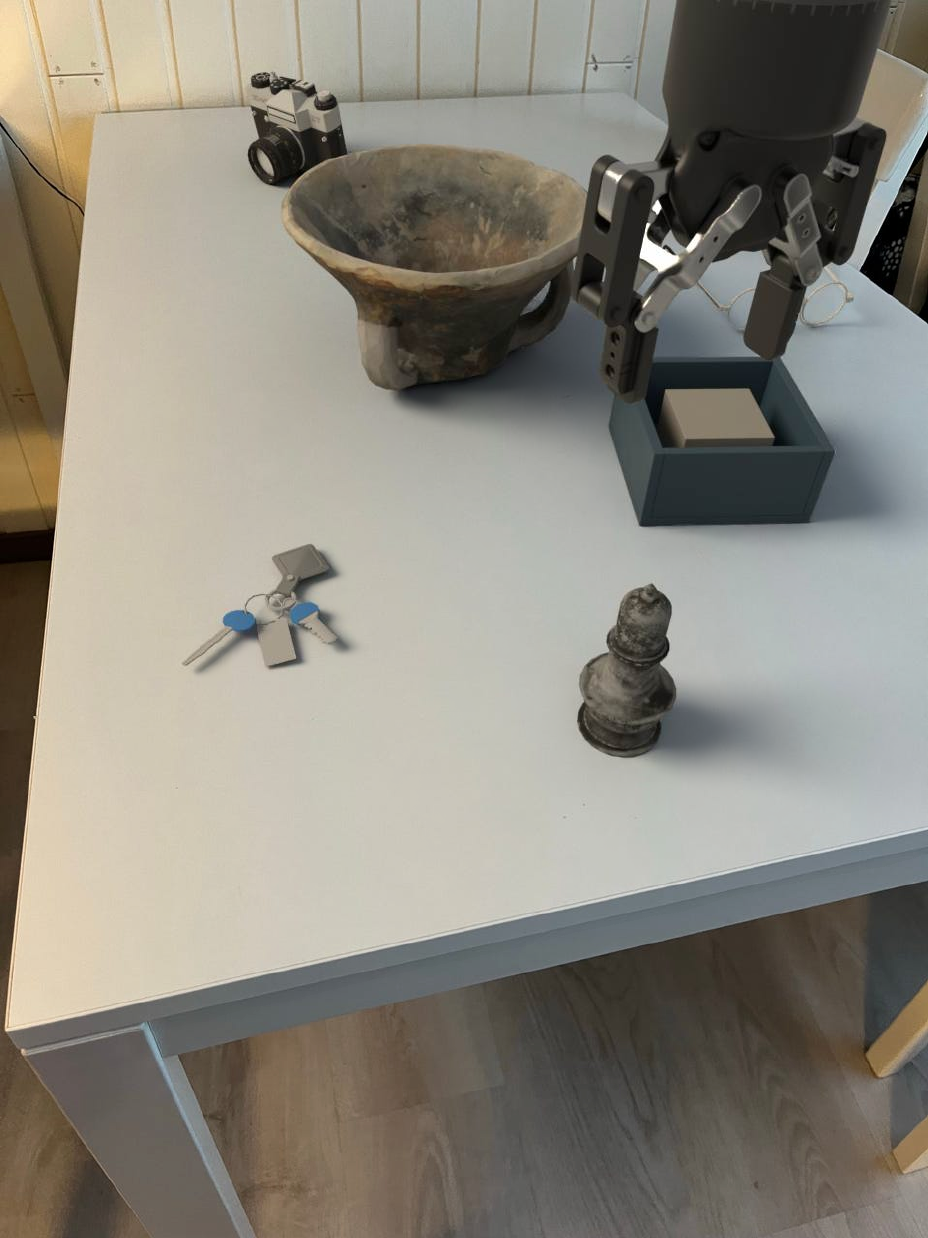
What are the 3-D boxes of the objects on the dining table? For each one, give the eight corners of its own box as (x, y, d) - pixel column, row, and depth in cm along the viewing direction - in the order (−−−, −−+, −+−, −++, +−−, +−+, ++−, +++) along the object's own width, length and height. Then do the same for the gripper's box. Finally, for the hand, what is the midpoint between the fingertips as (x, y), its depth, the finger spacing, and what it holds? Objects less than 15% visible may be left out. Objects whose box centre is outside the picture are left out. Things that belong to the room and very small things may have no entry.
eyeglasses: (711, 340, 95) (722, 293, 91) (648, 258, 108) (655, 213, 104) (857, 329, 98) (873, 282, 94) (778, 250, 110) (790, 206, 107)
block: (735, 439, 81) (749, 388, 78) (758, 489, 76) (775, 437, 73) (654, 440, 81) (665, 388, 77) (673, 491, 76) (685, 438, 72)
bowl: (442, 475, 78) (446, 302, 67) (238, 355, 90) (214, 192, 79) (633, 357, 92) (662, 199, 82) (435, 267, 104) (437, 119, 94)
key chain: (289, 541, 71) (288, 532, 70) (389, 572, 69) (389, 564, 68) (181, 668, 62) (178, 660, 61) (292, 709, 60) (291, 700, 59)
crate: (759, 425, 84) (779, 355, 80) (809, 523, 75) (836, 451, 70) (607, 426, 83) (619, 357, 79) (639, 526, 74) (654, 453, 69)
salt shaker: (570, 685, 62) (594, 545, 54) (660, 689, 62) (698, 550, 54) (574, 758, 58) (601, 619, 49) (671, 763, 58) (714, 624, 50)
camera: (225, 175, 124) (201, 95, 116) (285, 138, 128) (266, 59, 120) (302, 207, 117) (282, 125, 109) (362, 167, 122) (348, 86, 114)
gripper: (704, 13, 29) (623, 454, 41) (1006, -25, 34) (859, 373, 46) (564, -39, 34) (527, 371, 45) (851, -66, 39) (753, 306, 50)
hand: (695, 372), depth 46 cm, fingers open, 8 cm apart
